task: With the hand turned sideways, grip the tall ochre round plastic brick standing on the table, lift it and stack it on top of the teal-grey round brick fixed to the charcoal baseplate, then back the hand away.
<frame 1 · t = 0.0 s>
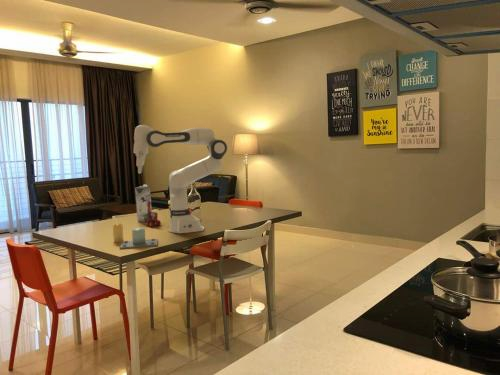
hand: (140, 172, 257), 39 cm above the table, tool pointing down, fingers open, 8 cm apart
tower base: (139, 244, 232), on the table
juice carton: (144, 220, 305), on the table
round brick: (118, 241, 242), on the table
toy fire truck: (153, 226, 284), on the table
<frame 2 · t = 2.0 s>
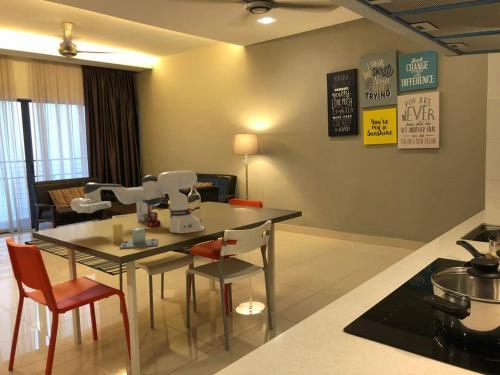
hand: (103, 207, 247), 20 cm above the table, tool horizontal, fingers open, 8 cm apart
nothing on the table moved.
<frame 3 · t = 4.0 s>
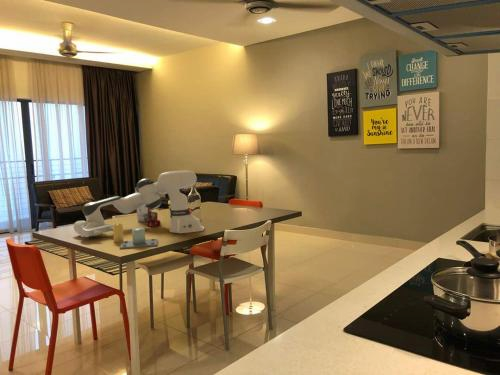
hand: (107, 231, 247), 5 cm above the table, tool horizontal, fingers open, 8 cm apart
nothing on the table moved.
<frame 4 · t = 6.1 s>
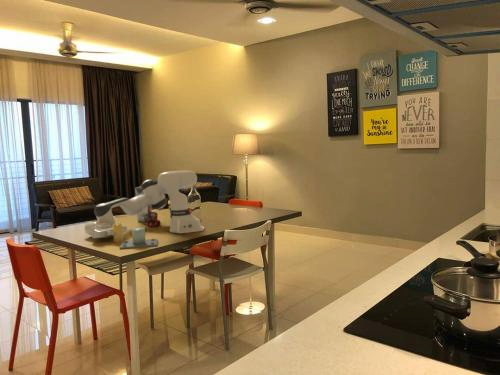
hand: (119, 232, 241), 6 cm above the table, tool horizontal, fingers closed on round brick, 6 cm apart
round brick: (118, 241, 242), on the table, touching gripper
everything else where it was.
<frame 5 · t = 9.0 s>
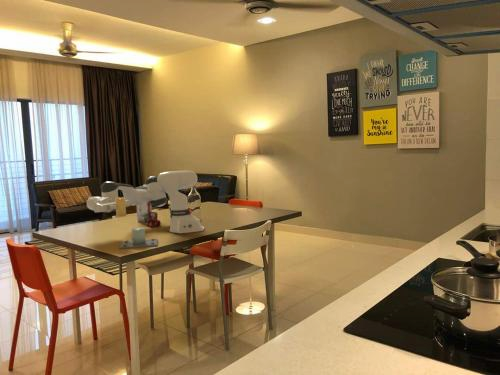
hand: (121, 206, 235), 21 cm above the table, tool horizontal, fingers closed on round brick, 5 cm apart
round brick: (121, 215, 237), point 16 cm above the table, touching gripper
everything else where it was.
when the fingers open (16 cm above the table, at t = 11.6 s): round brick drops 1 cm, resting on tower base.
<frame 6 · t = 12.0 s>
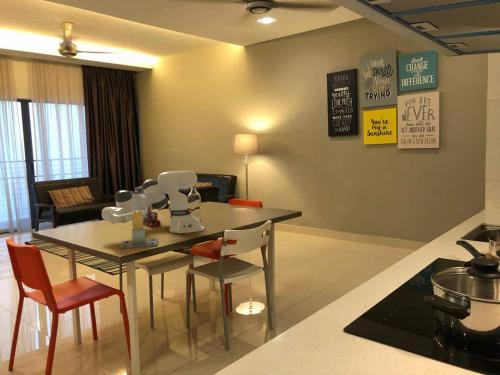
hand: (138, 217, 230), 16 cm above the table, tool horizontal, fingers open, 8 cm apart
round brick: (138, 229, 231), point 9 cm above the table, touching tower base
everything else where it was.
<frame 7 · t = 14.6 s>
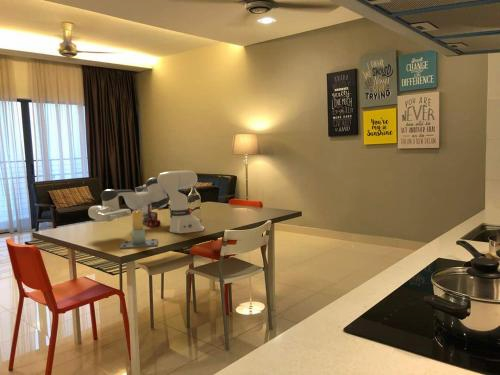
hand: (123, 215, 237), 16 cm above the table, tool horizontal, fingers open, 8 cm apart
nothing on the table moved.
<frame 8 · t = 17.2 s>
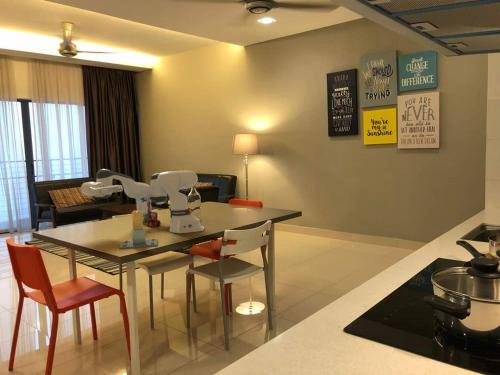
hand: (114, 190, 243), 30 cm above the table, tool horizontal, fingers open, 8 cm apart
nothing on the table moved.
at the end: round brick 0.1 cm off-centre on the tower base, point 9.0 cm above the tower base's base; round brick tilted 0°; the gripper is holding nothing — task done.
